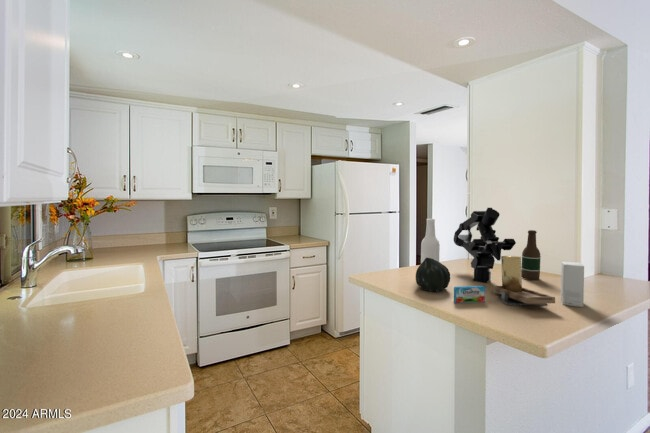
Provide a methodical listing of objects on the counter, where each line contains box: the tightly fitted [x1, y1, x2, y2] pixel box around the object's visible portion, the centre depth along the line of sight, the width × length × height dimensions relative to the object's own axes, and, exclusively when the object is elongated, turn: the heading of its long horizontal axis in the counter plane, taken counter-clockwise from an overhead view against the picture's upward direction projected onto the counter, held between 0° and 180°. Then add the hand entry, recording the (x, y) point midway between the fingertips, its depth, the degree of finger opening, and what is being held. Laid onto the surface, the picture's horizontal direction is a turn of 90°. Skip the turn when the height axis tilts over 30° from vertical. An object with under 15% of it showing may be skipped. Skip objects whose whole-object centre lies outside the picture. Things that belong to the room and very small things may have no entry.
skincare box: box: [560, 261, 585, 308], centre depth 125 cm, size 8×7×16 cm
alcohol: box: [420, 218, 441, 265], centre depth 162 cm, size 9×9×30 cm
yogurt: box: [453, 285, 486, 304], centre depth 127 cm, size 12×2×6 cm, turn 95°
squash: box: [415, 258, 451, 293], centre depth 145 cm, size 14×15×15 cm
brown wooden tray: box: [491, 285, 556, 304], centre depth 127 cm, size 23×10×2 cm, turn 1°
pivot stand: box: [495, 292, 548, 306], centre depth 127 cm, size 8×15×4 cm, turn 91°
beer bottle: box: [521, 229, 542, 281], centre depth 161 cm, size 8×8×24 cm
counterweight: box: [500, 255, 523, 292], centre depth 133 cm, size 7×7×14 cm
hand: (499, 260), depth 142 cm, fingers closed
